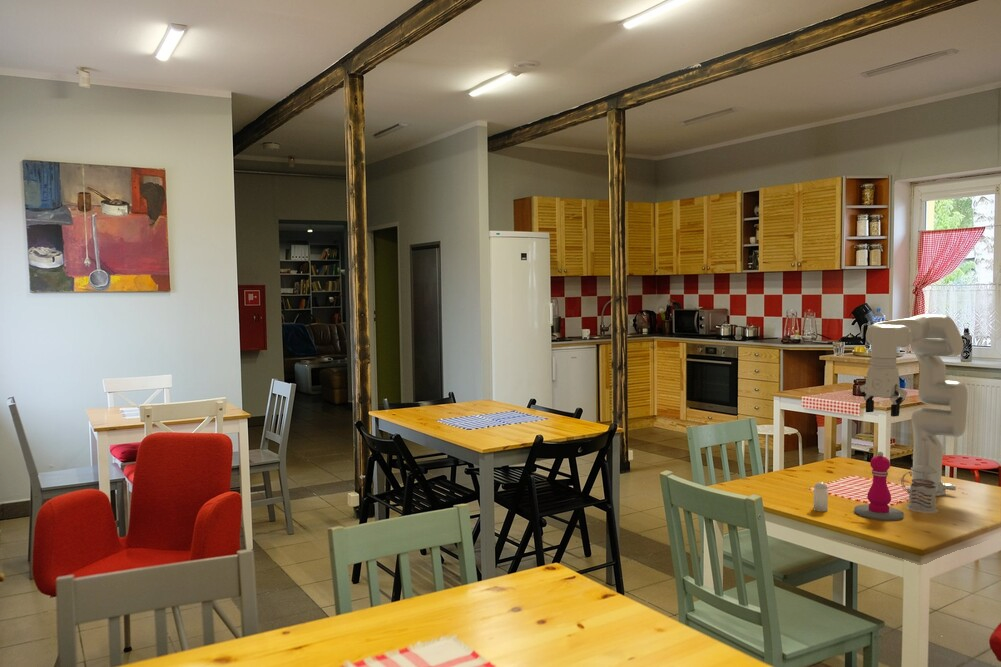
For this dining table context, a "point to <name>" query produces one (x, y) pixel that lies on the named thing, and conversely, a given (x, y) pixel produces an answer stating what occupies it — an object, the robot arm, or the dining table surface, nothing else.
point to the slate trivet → (889, 516)
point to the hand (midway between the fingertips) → (882, 414)
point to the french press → (922, 489)
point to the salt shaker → (820, 496)
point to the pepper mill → (879, 485)
